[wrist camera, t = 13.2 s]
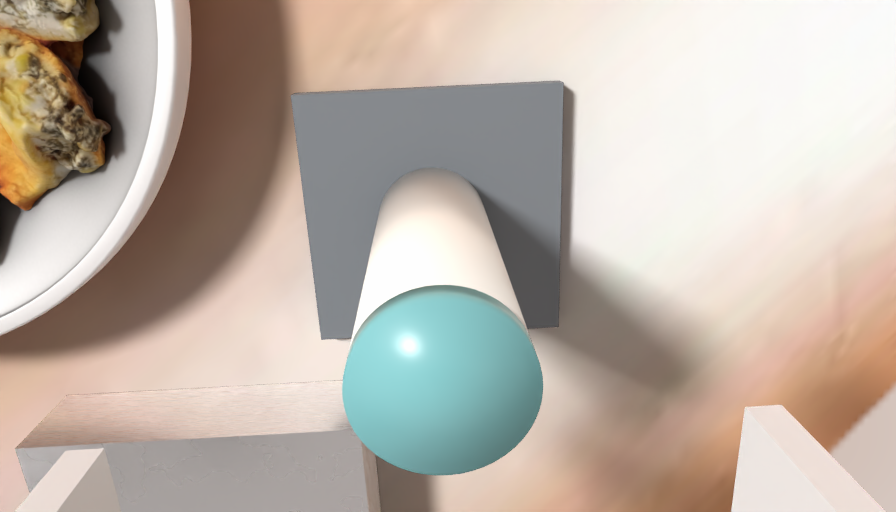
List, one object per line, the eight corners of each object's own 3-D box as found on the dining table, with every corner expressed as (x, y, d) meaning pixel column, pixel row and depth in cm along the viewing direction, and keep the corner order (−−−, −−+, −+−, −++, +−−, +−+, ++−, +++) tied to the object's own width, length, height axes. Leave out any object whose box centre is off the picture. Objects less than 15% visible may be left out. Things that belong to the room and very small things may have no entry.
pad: (324, 330, 33) (321, 339, 32) (295, 93, 29) (290, 95, 28) (554, 318, 33) (558, 326, 32) (558, 80, 29) (563, 82, 28)
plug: (383, 271, 31) (352, 481, 17) (374, 170, 29) (331, 307, 15) (486, 266, 31) (542, 468, 17) (483, 164, 29) (544, 294, 15)
